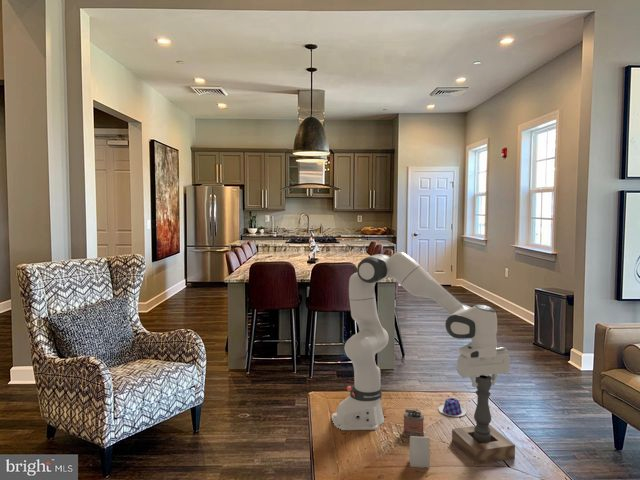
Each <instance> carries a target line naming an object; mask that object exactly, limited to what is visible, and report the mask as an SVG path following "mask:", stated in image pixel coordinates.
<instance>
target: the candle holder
mask: <svg viewBox="0 0 640 480" xmlns="http://www.w3.org/2000/svg"><path fill="white" fill-rule="evenodd" d="M491 377H492V375H480V376H476V378H475V381H476V382H478V387H476V390H475V394H476V396H477V403H476V407H475V410H474V414H473V420H474V421H475V423H476V425H474V426H475V428H474V429H475V430H474V439H475V440H476V441H477V442H478V443H479V444H480V443H487V442H491V433H490V428H489V427H488V426H489V425H490V423H491V422H492V414H491V410H490V406H489V398H490V396H491V392H490V389H491V387H492V385H491Z"/></svg>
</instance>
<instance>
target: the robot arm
mask: <svg viewBox="0 0 640 480" xmlns="http://www.w3.org/2000/svg"><path fill="white" fill-rule="evenodd" d="M390 277H391V278H392V279H394V280H395V281H397V283H398V284H399V285H400V286H401V287H402V288H403V289H404V290H405V291H406V292H408V293H409V294H411V296H413V297H419V298H427V299H431V300H432V301H435V302H436V303H437V304H438V305H439V306H441V308H443V309H444V310H445V311H446V312H447V313H448V314H449V316H448V317H447V319H446V320H445V323H444V324H445V330H446V332H447V333H448V335H449V336H451V337H452V338H453V339H460V340H461V339H463V340H464V339H465V340H466V339H471V342H469V343H467V344H465V345H464V346H461V347H459V349H458V353H459V354H460V355H459V356H457V361H456V372H457V374H458V375H459V376H460V377H462V378H469V379H470V381H471V386H472V387H473V388H477V387H478V382H476V381H475V378H476V376H480V375H489V376H491V386H495V385H496V380H497V378H498V376H499V374H507V373H509V372H510V370H511V365H510V364H511V362H510V350H508V348H506V347H498V340H497V334H498V316H497V313H496V311H495V309H494V308H493V307H491V306H488V305H485V304H475V305H474V306H472V307H471V306H469V305H467V304H465V303H464V302H461V301H460V300H459V299H457V297H455V296H454V295H453V294H452V293H450V292H449V290H447V289H446V288H445V287H444V286H443V285H442V284H441V283H439V282H438V281H437V280H436V279H434V277H433V276H431V275H430V273H429V272H428V271H427V270H426V268H424V267H422V265H421V264H419V263H418V262H417V261H416V260H415V259H414V258H413V257H411V256H410V255H408V254H407V253H405V252H403V251H398V252H395V253H393V254H391V255H389V254H386V253H380V254H379V253H378V254H377V253H376V254H372V255H370V256H368V257H365V258H363V259H361V261H359V263H358V265H357V267H356V272H354V273H353V274H351V276H350V277H349V281H348V298H349V306H350V316H351V318H352V320H353V321H355V322H356V324H357V327H358V330H359V331H358V332H357V333H355V334H352V336H351V337H350V338H348V339H347V340H346V341H345V344H344V352H345V355H346V357H347V358H348V359H350V360H351V363H352V366H353V367H352V368H353V373H354V374H353V375H354V376H353V377H354V385H353V386H352V387H351V385H348V386H346V390H347V392H348V393H349V395H348V396H347V397H346V398H345V399H343V400H342V401H341V402H339V403H338V404H337V409H336V412H334V413H332V415H331V421H333V422H332V424H333V423H334V424H333V425H334V427H336V429H338V428H339V429H338V430H340V429H341V430H340V431H369V430H371V431H372V430H375V431H376V430H377V429H378V428H379V426H380V425H382V424H383V423H384V422H385V417H384V414H383V408H382V393H383V392H382V386H381V368H380V367H379V366H378V365H377V364H376V360H375V359H376V358H375V356H376V354H377V353H380V352H382V351H383V350H384V349H385V348H386V346H387V345H388V343H389V339H390V337H389V333H388V331H387V330H386V329H385V328H384V327H383V326H382V324H381V321H380V319H379V315H378V308H377V301H376V293H375V286H376V283H377V282H381V281H384V280H386V279H389V278H390Z"/></svg>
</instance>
